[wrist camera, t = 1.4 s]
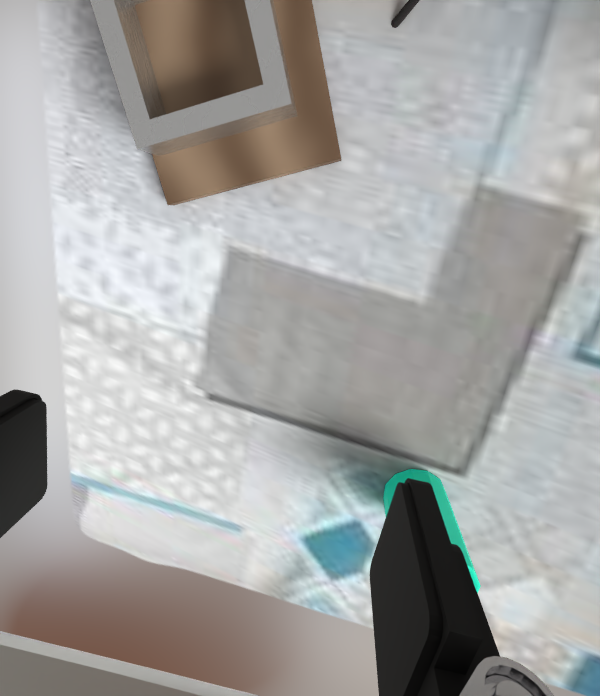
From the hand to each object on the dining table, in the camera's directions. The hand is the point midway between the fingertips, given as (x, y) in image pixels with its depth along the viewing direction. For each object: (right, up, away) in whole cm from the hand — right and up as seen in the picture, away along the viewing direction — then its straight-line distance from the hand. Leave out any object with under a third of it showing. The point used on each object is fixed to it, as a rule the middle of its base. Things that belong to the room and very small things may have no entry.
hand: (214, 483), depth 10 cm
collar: (-5, +24, +18) cm, 31 cm away
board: (-3, +24, +19) cm, 31 cm away
